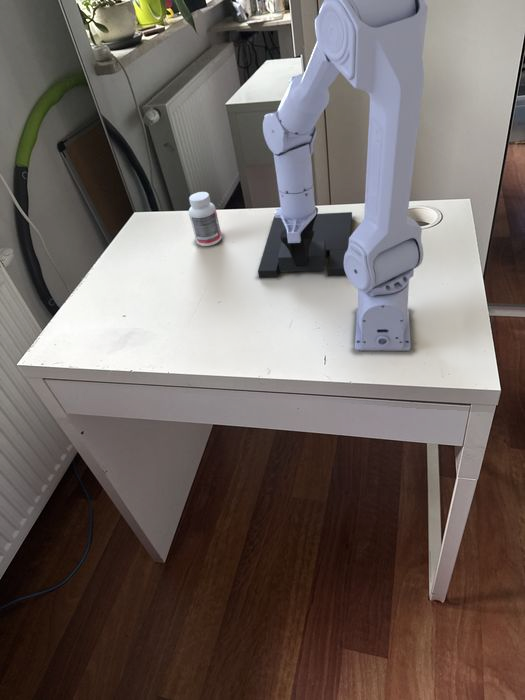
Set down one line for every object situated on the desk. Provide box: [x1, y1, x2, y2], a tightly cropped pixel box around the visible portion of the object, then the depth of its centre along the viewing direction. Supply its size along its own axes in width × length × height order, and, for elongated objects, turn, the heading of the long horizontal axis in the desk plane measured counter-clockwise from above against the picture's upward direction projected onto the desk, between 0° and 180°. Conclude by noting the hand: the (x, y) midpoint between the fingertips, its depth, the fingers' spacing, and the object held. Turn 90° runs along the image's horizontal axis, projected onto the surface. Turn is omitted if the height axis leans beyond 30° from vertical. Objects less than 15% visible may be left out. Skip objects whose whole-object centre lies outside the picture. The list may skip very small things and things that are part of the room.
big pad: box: [257, 211, 353, 279], centre depth 100 cm, size 20×16×2 cm
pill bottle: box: [188, 191, 223, 247], centre depth 105 cm, size 5×5×10 cm
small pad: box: [278, 241, 327, 273], centre depth 94 cm, size 5×8×3 cm, turn 81°
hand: (303, 256), depth 94 cm, fingers closed on small pad, 5 cm apart
